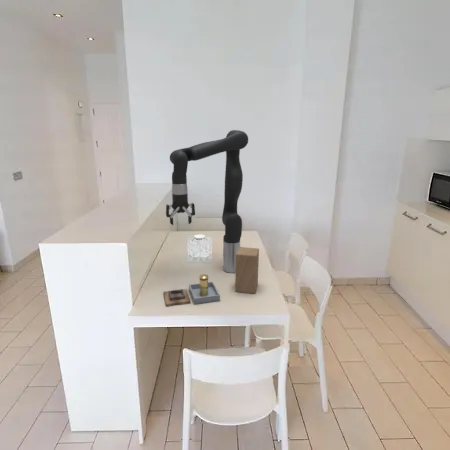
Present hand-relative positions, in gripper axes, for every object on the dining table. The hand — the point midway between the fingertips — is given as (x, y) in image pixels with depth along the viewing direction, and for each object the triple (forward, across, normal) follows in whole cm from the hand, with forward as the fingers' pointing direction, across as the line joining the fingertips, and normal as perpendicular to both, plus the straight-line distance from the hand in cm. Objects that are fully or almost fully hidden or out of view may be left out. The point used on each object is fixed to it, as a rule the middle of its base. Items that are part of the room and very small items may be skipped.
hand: (181, 224), depth 168 cm
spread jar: (+30, +16, +34) cm, 48 cm away
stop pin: (+30, +7, -20) cm, 37 cm away
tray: (+30, +7, -20) cm, 37 cm away
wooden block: (+30, +29, -19) cm, 46 cm away
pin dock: (+30, -6, -20) cm, 37 cm away
